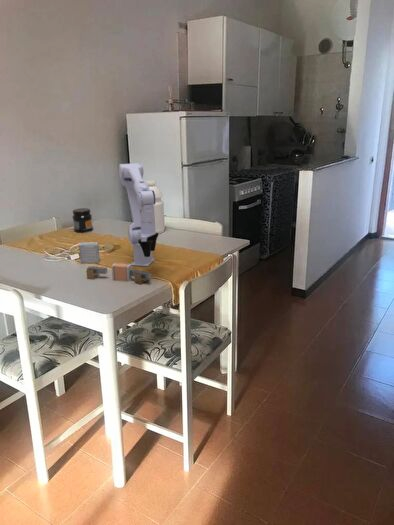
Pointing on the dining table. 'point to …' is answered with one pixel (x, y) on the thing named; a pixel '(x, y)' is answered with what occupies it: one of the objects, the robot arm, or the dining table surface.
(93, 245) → the medicine box
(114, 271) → the block
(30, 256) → the dining table surface
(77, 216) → the supplement container
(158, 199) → the bottle
